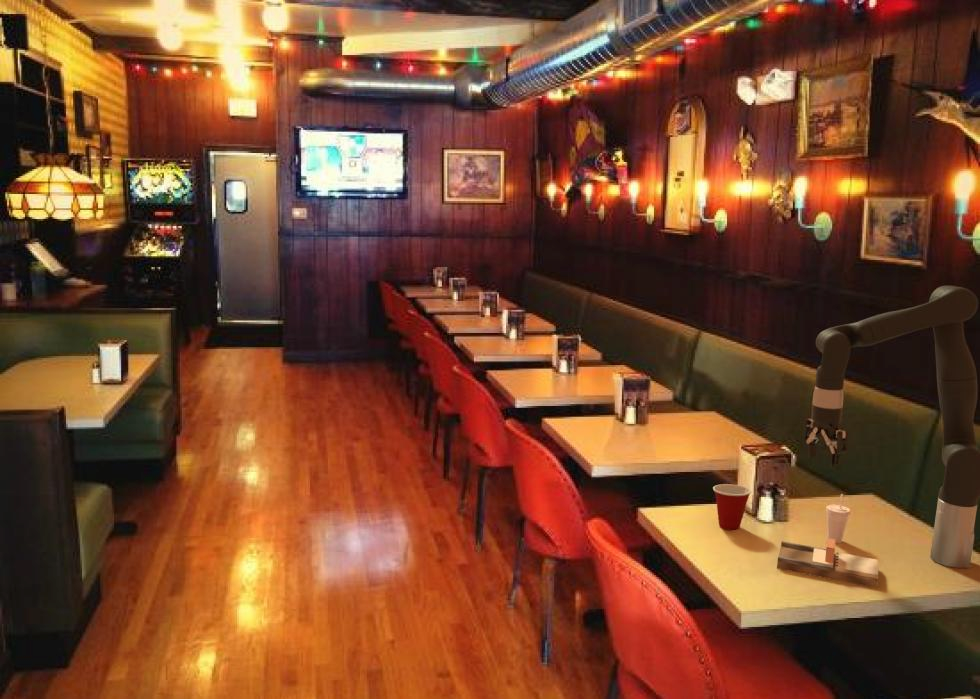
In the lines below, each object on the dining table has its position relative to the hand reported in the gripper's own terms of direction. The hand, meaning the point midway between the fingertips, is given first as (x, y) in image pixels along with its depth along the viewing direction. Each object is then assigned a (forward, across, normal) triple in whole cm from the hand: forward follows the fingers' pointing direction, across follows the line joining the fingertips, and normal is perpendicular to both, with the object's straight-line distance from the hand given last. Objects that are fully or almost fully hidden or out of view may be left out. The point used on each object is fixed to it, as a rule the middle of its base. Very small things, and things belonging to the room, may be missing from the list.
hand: (822, 461), depth 225 cm
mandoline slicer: (+26, -10, +5) cm, 28 cm away
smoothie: (+26, +4, -10) cm, 28 cm away
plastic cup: (+25, +21, +13) cm, 35 cm away
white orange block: (+23, -10, +6) cm, 26 cm away
